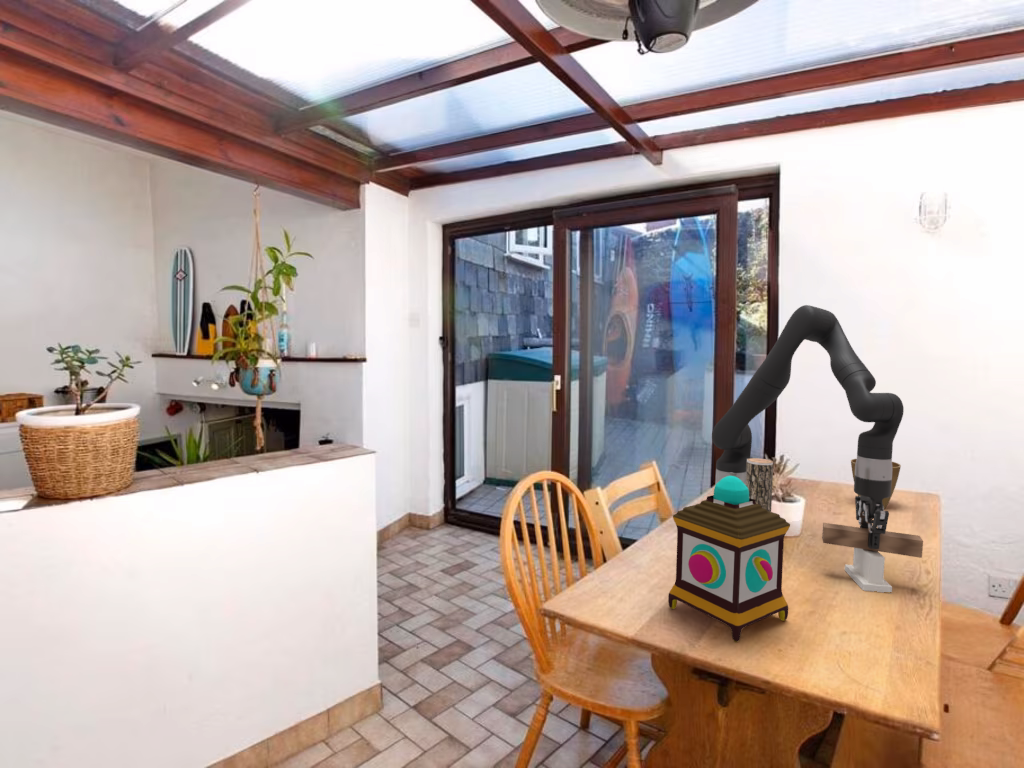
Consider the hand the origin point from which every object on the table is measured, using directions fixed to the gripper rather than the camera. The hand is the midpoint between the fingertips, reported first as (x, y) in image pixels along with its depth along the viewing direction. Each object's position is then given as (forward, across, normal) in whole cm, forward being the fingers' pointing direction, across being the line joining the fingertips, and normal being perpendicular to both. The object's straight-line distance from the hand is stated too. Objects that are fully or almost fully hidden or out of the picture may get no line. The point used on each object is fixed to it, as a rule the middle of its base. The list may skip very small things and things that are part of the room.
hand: (868, 544), depth 134 cm
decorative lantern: (+10, -26, +36) cm, 45 cm away
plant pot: (+10, +71, -27) cm, 76 cm away
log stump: (+10, +17, +22) cm, 29 cm away
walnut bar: (+1, 0, 0) cm, 1 cm away
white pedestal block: (+9, 0, 0) cm, 9 cm away
